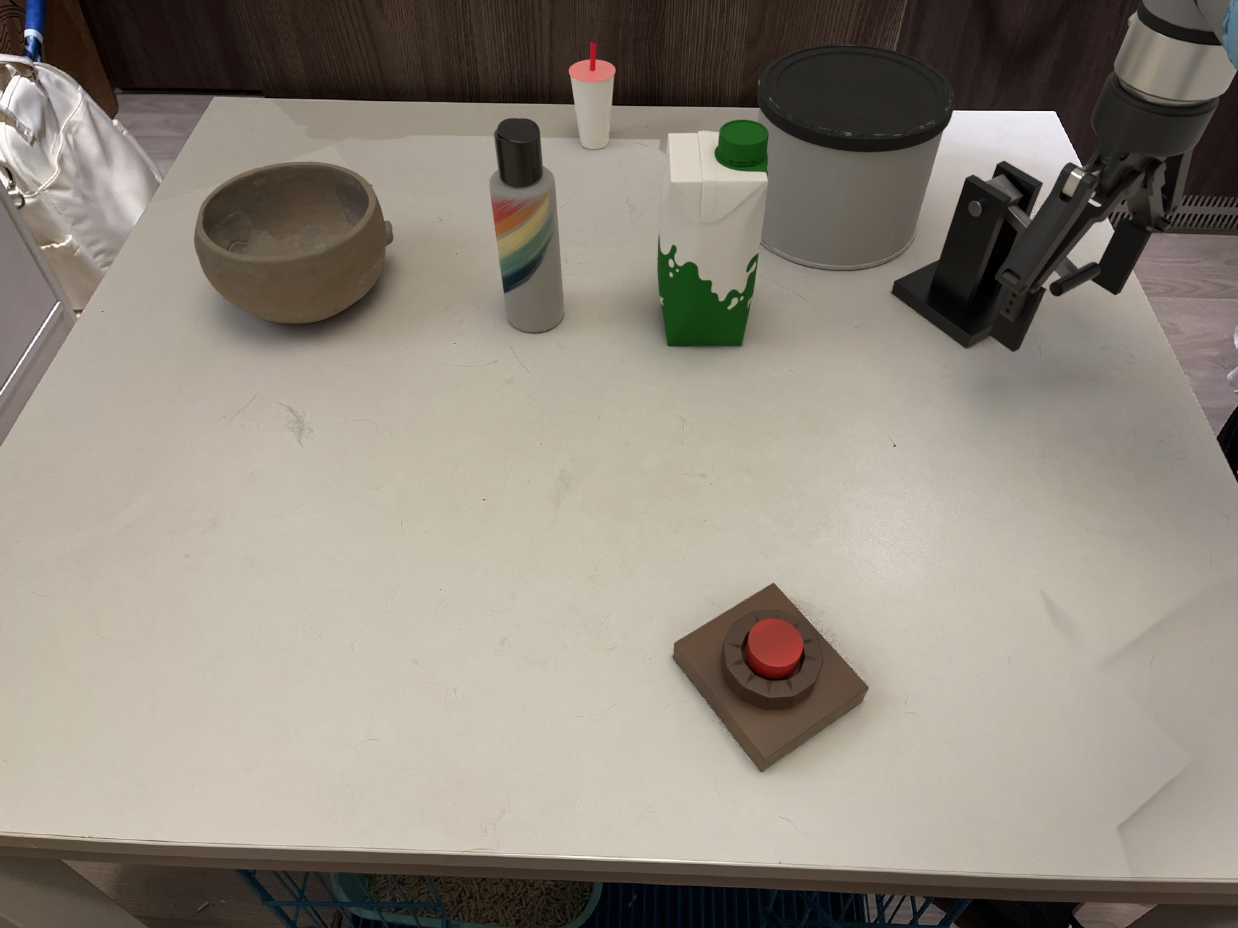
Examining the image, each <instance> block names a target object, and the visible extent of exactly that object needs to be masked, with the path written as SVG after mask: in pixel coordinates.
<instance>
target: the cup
mask: <svg viewBox="0 0 1238 928" xmlns="http://www.w3.org/2000/svg"><path fill="white" fill-rule="evenodd" d="M589 52H590V56H589V59H584V60H580V61H577V62H575V63H573V64H572V65H571V66H570V67H569V69H568V74H569V75H570V82H571V87H572V88H571V89H572V97H573V103H574V109H575V116H576V117H575V118H576V122H577V130H578V134H579V142H580V145H581V146H582V147H584V148H585V149H589V150H599V149H604V148H606V146H608V144H609V138H610V130H611V118H612V106H613V94H614V82H615V74H616V67H615V66H614V64H612V63H610V62H609V61H606V60H602V59H597V44H596V43H594V42H592V41H591V42H590V51H589Z"/></svg>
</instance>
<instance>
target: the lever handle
mask: <svg viewBox="0 0 1238 928" xmlns="http://www.w3.org/2000/svg"><path fill="white" fill-rule="evenodd" d="M985 182H987V183H988V184H990V185H992V186H993V187H995V188H997V189H998V190H1000V191H1002V192H1003V193H1005V194H1007V195H1008V196H1010V197H1011V198H1012V199H1011V202H1010V204H1009V207H1008V209H1007V212H1006V215H1005V217H1004V218H1005V219H1006V220H1007V221H1008V222H1009V223H1010V224H1011V225H1012V226H1013V227H1014V228H1015V230H1016V231H1017V232H1018V233H1019V234H1020V235H1021V236H1022V234H1023V233H1024V231H1025V230H1026V228H1027V227H1028V225H1029V224H1030V222H1031V221H1032V220H1033V219H1031V217H1028V216H1027V215H1026V214H1025V213H1024V212H1023V211H1022V210H1021V209H1020V208H1019V207H1018V206H1017V204H1018V202H1019V201H1020V200H1021V198H1022V197H1023V194H1022V193H1021V192H1020V191H1019V190H1018V189H1017V188H1016V187H1015V186H1014V185H1013V184H1012V183H1011V182H1010V181H1009V180H1008V179H1007V178H1006V177H1005V176H1004V175H1003V174H1002V175H999V176H997V177H995V178H993V179H992V178H990V179H988V180H985ZM1054 272H1055V273H1056V274H1057V275H1058V276H1059V277H1060V278H1058V279H1056V280H1054V281H1052V282H1051V283H1050V284H1049V287H1048V289H1049V292H1050V294H1051V295H1052V296H1054V297H1062V296H1063V295H1064V294H1066V293H1068V292H1070V291H1072V290H1074V289H1075V288H1077V287H1079V286H1081V285H1083V284H1086V283H1087V282H1089V281H1091V279H1092V278H1094V277H1096V276H1098V275H1099V274H1100V272H1101V267H1100V265H1099V262H1096V261H1090V262H1088V263H1086V264H1084V265H1082V266H1080V267H1077V266H1076V265H1075V264H1074V263H1073V261H1072V260H1071V259H1070V258H1069V257H1068V256H1066V258H1065V259H1064V260H1063V261H1062V262H1061V264H1060V265H1059V266H1058V267H1057V268H1056V269H1055V271H1054Z"/></svg>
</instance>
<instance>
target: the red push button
mask: <svg viewBox="0 0 1238 928" xmlns="http://www.w3.org/2000/svg"><path fill="white" fill-rule="evenodd" d="M802 650H803V640H802V637H801V635H800V633H799V632H798V630H797V629H796V628H795V627H794V626H793V625H792V624H790V623H788V622H786V621H784V620H781V619H776V618H770V619H764V620H762V621H760V622H758V623H757V624H755V625H754V626H753V627H752V629H751V630H750V633H749V636H748V641H747V646H746V659H747V661H748V663H749V665H750V666H751V668H752V669H753V670H754V671H755V672H756V673H758V674H759V675H761V676H763V677H766V678H770V679H780V678H784V677H787V676H789V675H790V674H792V673H793V672H794V671H795V669H796V668H797V666H798V663H799V660H800V657H801V654H802Z"/></svg>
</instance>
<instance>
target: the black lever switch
mask: <svg viewBox="0 0 1238 928" xmlns="http://www.w3.org/2000/svg"><path fill="white" fill-rule="evenodd" d="M1002 174H1003V175H1004V176H1005V177H1006V178H1007V179H1008V180H1009V181H1010V182H1011V183H1012V184H1013V185H1014V186H1015V187H1016V188H1017V189H1018V190H1019V191H1020V192H1021V193H1022V194H1023V197H1022V198H1021V200H1020V201H1019V202H1018V204H1017V206H1018V207H1019V208H1020V209H1021V210H1022V211H1023V212H1024V213H1025V214H1026V215H1027V216H1028V217H1029V218H1031V215H1032V212H1033V210H1034V207H1035V205H1036V202H1037V199H1038V197H1039V195H1040V192H1041V190H1042V187H1043V184H1044V182H1042V181H1041V180H1039V179H1037V178H1035V177H1034V176H1032V175H1031V174H1029V173H1027V172H1025V171H1023V170H1022V169H1020V168H1019V167H1017V166H1015V165H1013V164H1011V163H1010V162H1007V161H1006V160H1002V161H1000V162H997V163H996V165H995V168H994V170H993V172H992V177H991V179H993V178H995V177H997V176H999V175H1002ZM1011 199H1012V198H1011V197H1010V196H1008V195H1007V194H1005V193H1003V192H1002V191H1000V190H998V189H997V188H995V187H993V186H992V185H990V184H988V183H987V182H986V180H984V179H982V178H980V177H978V176H977V175H975V174H971V175H968V176H966V177H965V179H964V181H963V185H962V188H961V191H960V193H959V197H958V200H957V203H956V206H955V209H954V213H953V215H952V219H951V221H950V225H949V229H948V231H947V234H946V237H945V241H944V243H943V247H942V249H941V253H940V255H939V258H938V259H936V260H935V261H933V262H931V263H929V264H926V265H923V266H922V267H920V268H918V269H916V270H914V271H912V272H910V273H908V274H906V275H903V276H901V277H900V278H898V279H896V280H894V281H893V284H892V287H891V295H893V296H895V297H896V298H898V299H899V300H900V301H902V302H903V303H904V304H906V306H908V307H910V309H912V310H914V311H915V312H916V313H918V314H919V315H921V316H922V317H923V318H925V319H926V320H927V321H929V322H930V324H933V325H934V326H935V327H937V328H938V329H939V330H941V331H942V332H943V333H944V334H946V335H947V336H949V337H950V338H951V339H953V340H954V341H955V342H957V343H959V344H960V345H961V346H962V347H964V348H965V349H968V348H970V347H972V346H973V345H976V344H978V343H980V342H981V341H983V340H985V339H987V338H988V337H991V336H990V335H989V334H990V331H991V329H992V326H993V324H994V321H995V319H996V316H997V314H998V312H999V309H1000V307H1001V304H1002V302H1003V299H1004V297H1005V294H1006V292H1007V290H1008V287H1006V286H1005V285H1003V284H1002V283H1000V282H999V281H998V280H996V279H995V275H996V273H997V272H998V270H999V269H1000V267H1001V266H1002V264H1003V263H1004V261H1005V260H1006V258H1007V257H1008V255H1009V254H1010V252H1011V251H1012V249H1013V248H1014V246H1015V245H1016V243H1017V242H1018V240H1019V239H1020V237H1021V235H1020V234H1019V233H1018V232H1017V231H1016V230H1015V228H1014V227H1013V226H1012V225H1011V224H1010V223H1009V222H1008V221H1007V220H1006V219H1005V218H1004V217H1005V215H1006V212H1007V209H1008V207H1009V204H1010V202H1011Z"/></svg>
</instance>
